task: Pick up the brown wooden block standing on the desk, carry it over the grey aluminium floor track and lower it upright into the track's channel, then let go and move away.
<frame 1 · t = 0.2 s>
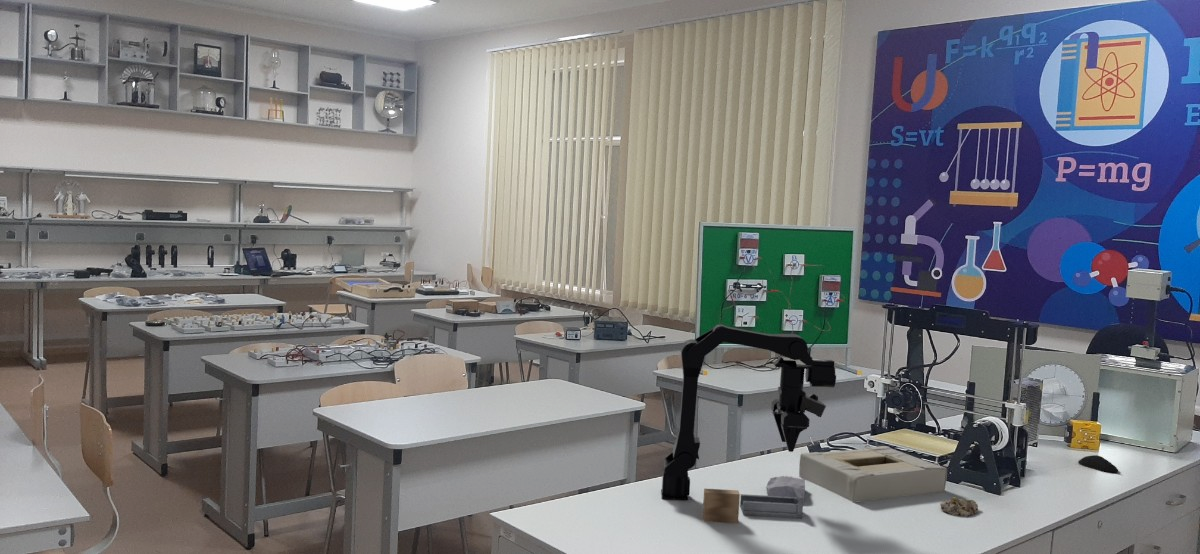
hand: (787, 446, 219), 14 cm above the table, tool pointing down, fingers open, 9 cm apart
floor track: (770, 511, 213), on the table
brown wooden block: (720, 520, 205), on the table
mineral rock: (959, 512, 220), on the table
box: (870, 486, 240), on the table
stone block: (785, 495, 228), on the table
black teardrop lump: (1102, 471, 266), on the table
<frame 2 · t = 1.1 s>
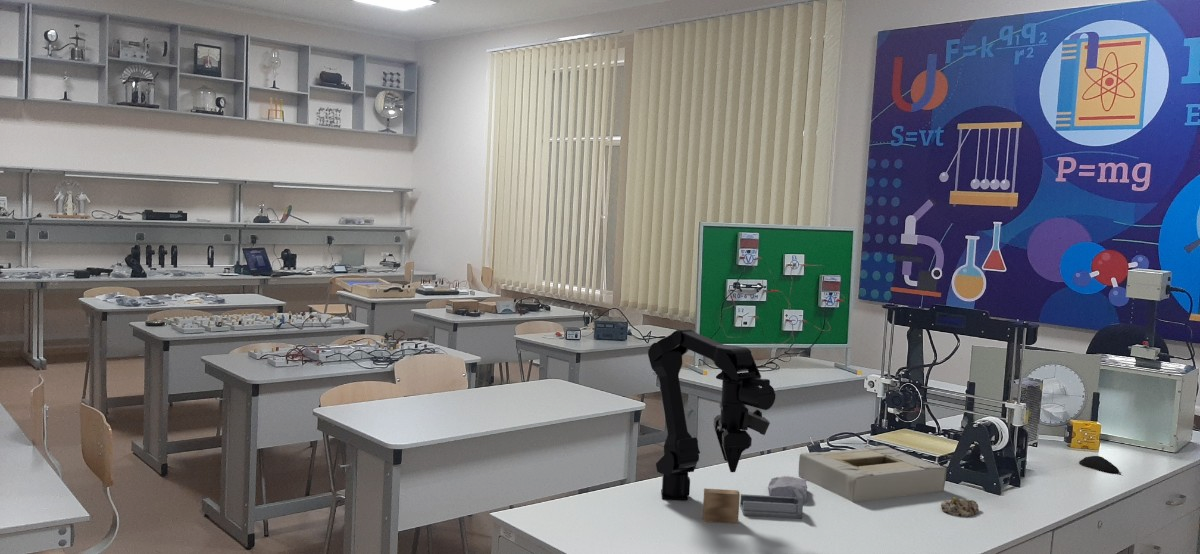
hand: (729, 466, 206), 13 cm above the table, tool pointing down, fingers open, 9 cm apart
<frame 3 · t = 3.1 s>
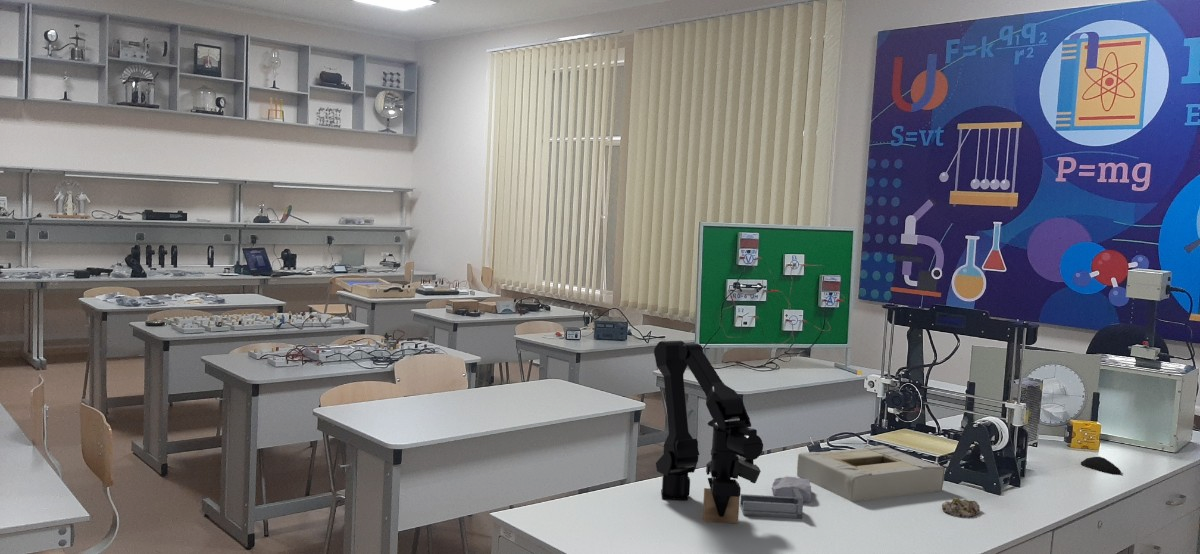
hand: (720, 513, 205), 2 cm above the table, tool pointing down, fingers closed on brown wooden block, 3 cm apart
brown wooden block: (720, 520, 205), on the table, touching gripper
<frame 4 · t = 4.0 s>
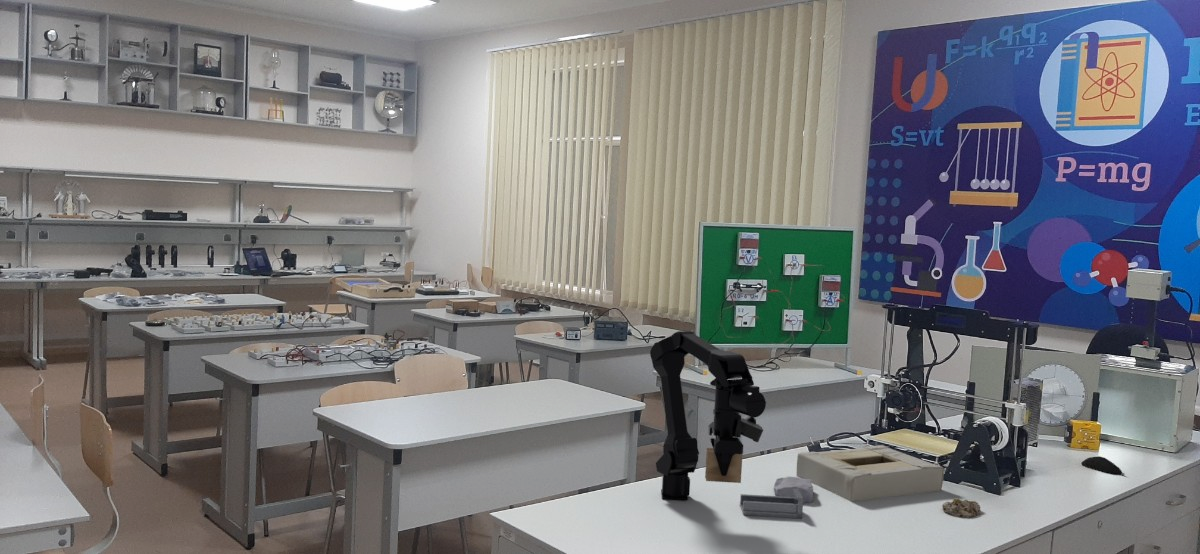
hand: (723, 473, 205), 11 cm above the table, tool pointing down, fingers closed on brown wooden block, 3 cm apart
brown wooden block: (722, 480, 205), point 10 cm above the table, touching gripper
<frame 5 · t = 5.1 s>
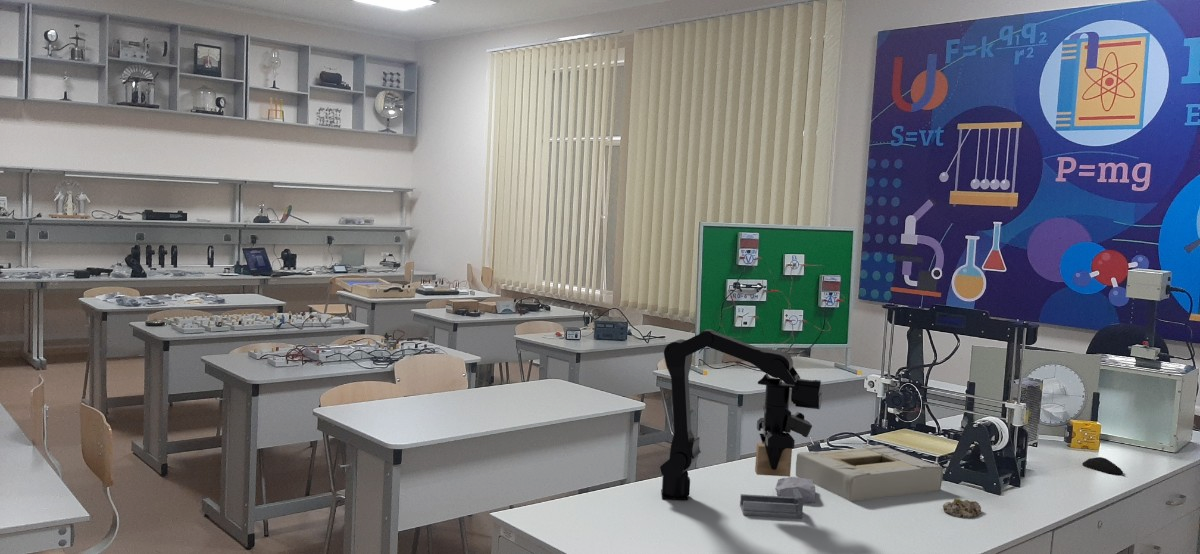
hand: (772, 467, 212), 11 cm above the table, tool pointing down, fingers closed on brown wooden block, 3 cm apart
brown wooden block: (772, 473, 212), point 9 cm above the table, touching gripper
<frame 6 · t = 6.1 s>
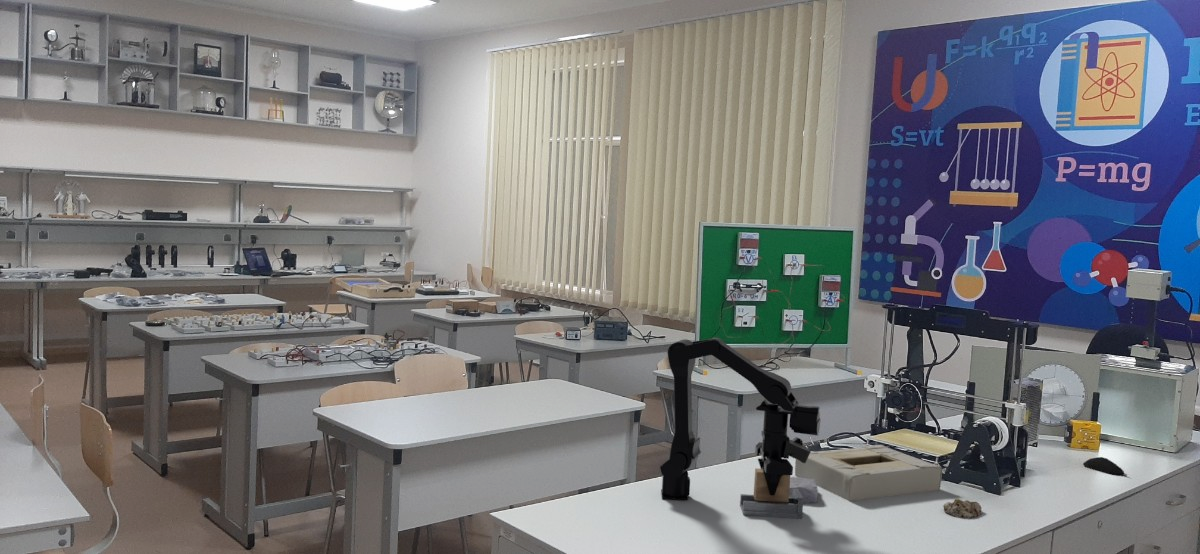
hand: (771, 492, 213), 5 cm above the table, tool pointing down, fingers closed on brown wooden block, 3 cm apart
brown wooden block: (770, 499, 213), point 3 cm above the table, touching gripper
when the fingers open (4 cm above the table, at t = 6.5 s): brown wooden block drops 1 cm, resting on floor track.
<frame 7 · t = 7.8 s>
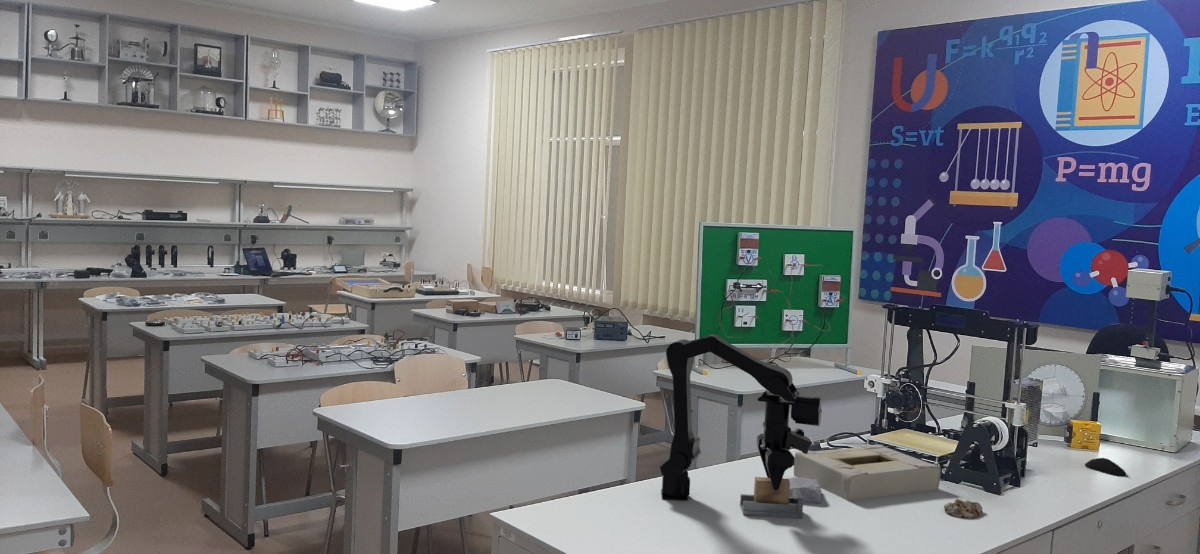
hand: (772, 484, 212), 7 cm above the table, tool pointing down, fingers open, 9 cm apart
brown wooden block: (770, 507, 213), point 1 cm above the table, touching floor track
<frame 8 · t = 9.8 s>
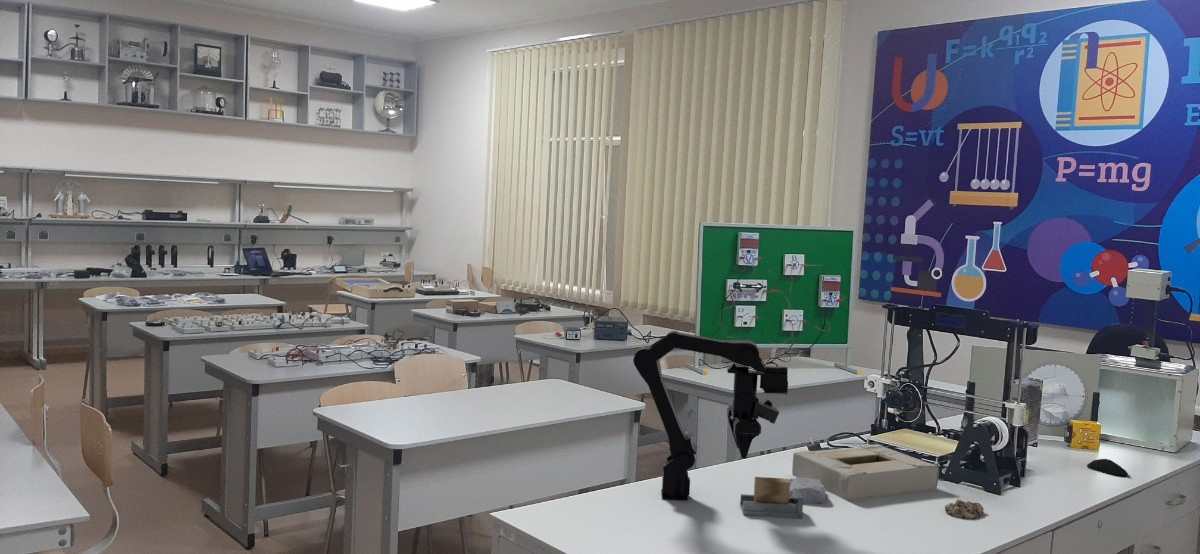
hand: (741, 453, 218), 13 cm above the table, tool pointing down, fingers open, 9 cm apart
at the end: brown wooden block 0.0 cm off-centre on the floor track, point 1.0 cm above the floor track's base; brown wooden block tilted 0°; the gripper is holding nothing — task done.
